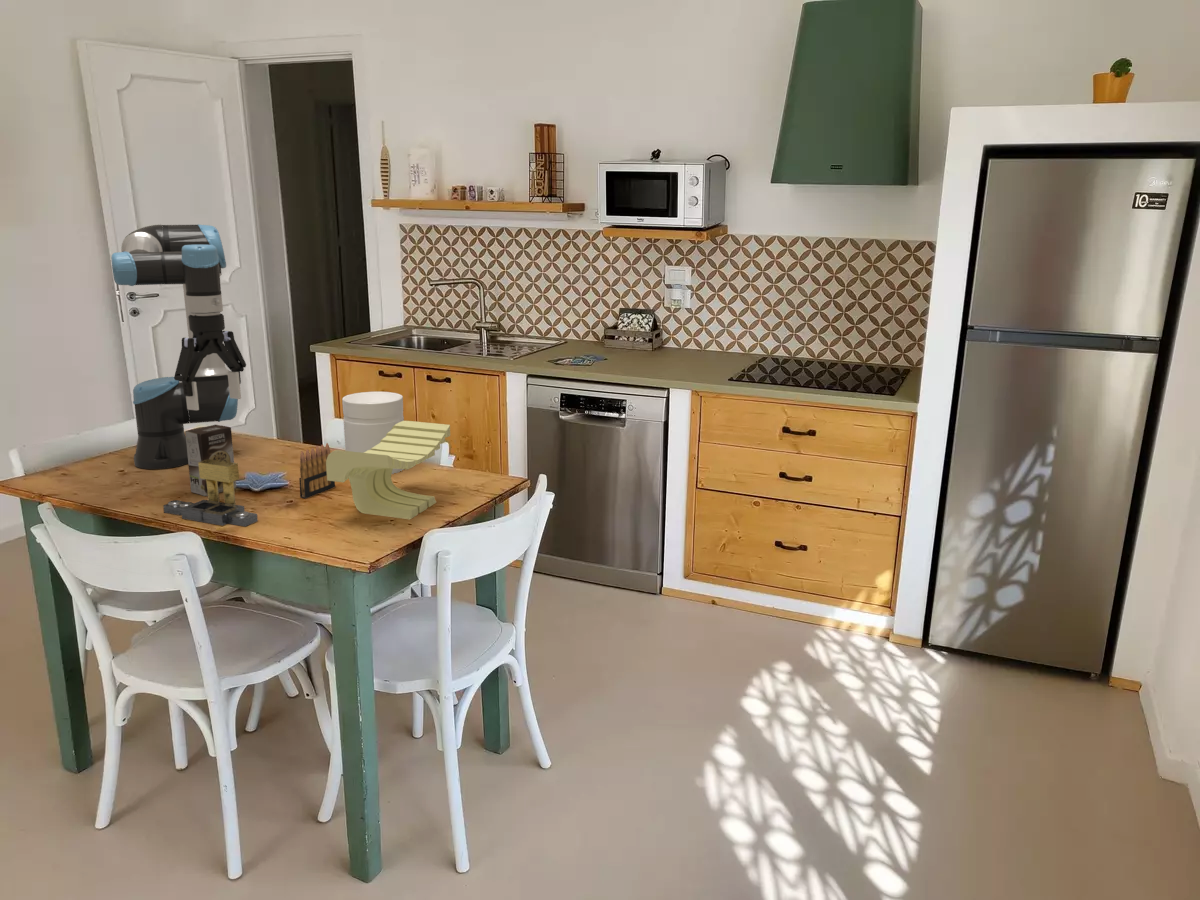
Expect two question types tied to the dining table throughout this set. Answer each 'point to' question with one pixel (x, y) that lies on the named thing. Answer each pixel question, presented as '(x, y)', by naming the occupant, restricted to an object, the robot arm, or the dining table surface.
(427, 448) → the slatted curved stool
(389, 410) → the canister
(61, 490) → the dining table surface
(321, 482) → the ammunition clip
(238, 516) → the chain joint
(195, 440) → the coffee box
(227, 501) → the tan piece
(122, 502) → the dining table surface
